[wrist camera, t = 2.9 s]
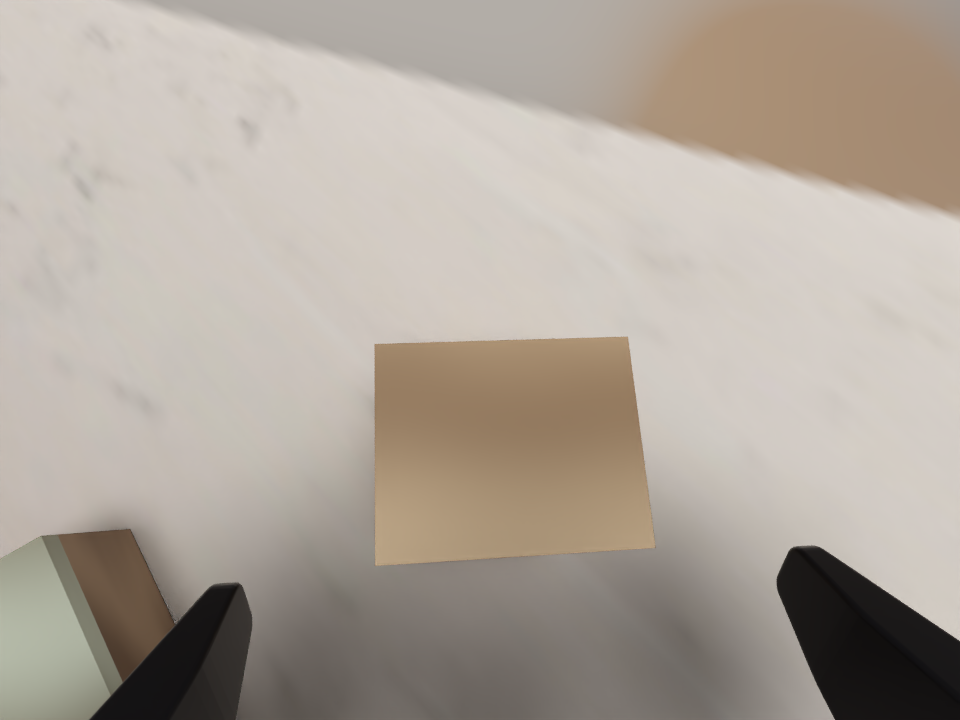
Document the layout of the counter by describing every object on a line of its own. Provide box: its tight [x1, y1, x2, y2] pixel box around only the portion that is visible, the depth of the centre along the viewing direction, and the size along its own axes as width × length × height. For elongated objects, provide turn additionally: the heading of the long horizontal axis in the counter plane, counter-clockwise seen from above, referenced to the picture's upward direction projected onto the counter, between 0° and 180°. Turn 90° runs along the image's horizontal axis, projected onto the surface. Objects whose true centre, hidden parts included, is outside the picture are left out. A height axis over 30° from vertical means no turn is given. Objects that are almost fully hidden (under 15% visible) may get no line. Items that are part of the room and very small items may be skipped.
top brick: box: [375, 337, 656, 566], centre depth 14 cm, size 4×5×9 cm
